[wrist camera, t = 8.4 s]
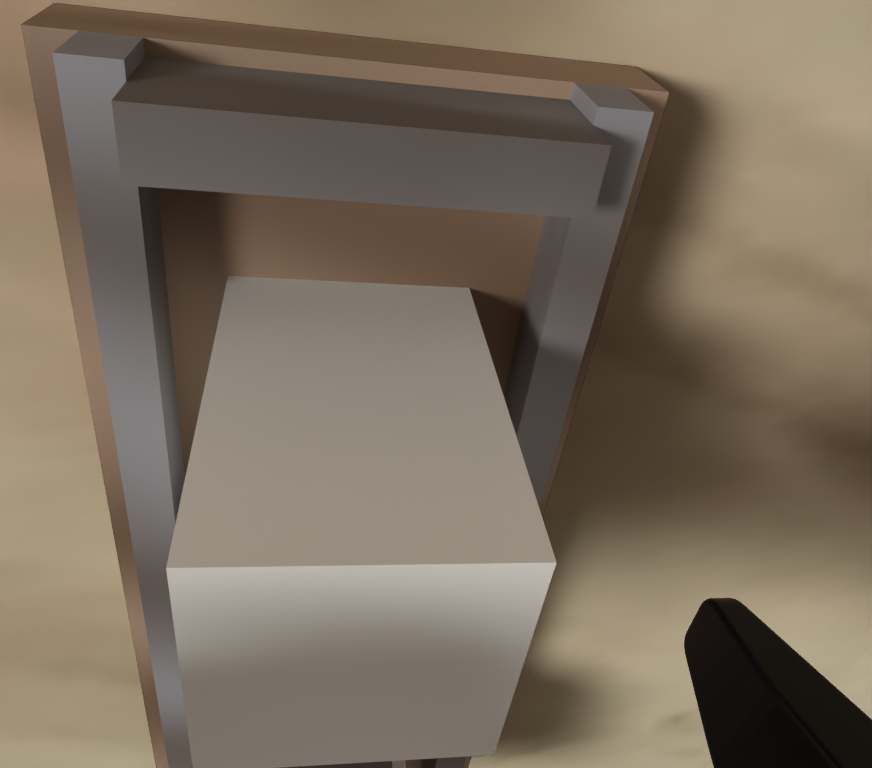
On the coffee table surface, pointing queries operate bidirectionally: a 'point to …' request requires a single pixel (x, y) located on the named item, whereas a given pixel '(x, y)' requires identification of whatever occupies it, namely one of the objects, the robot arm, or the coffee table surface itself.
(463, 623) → the off-white square prism
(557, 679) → the coffee table surface
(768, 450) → the coffee table surface
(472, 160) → the rail
